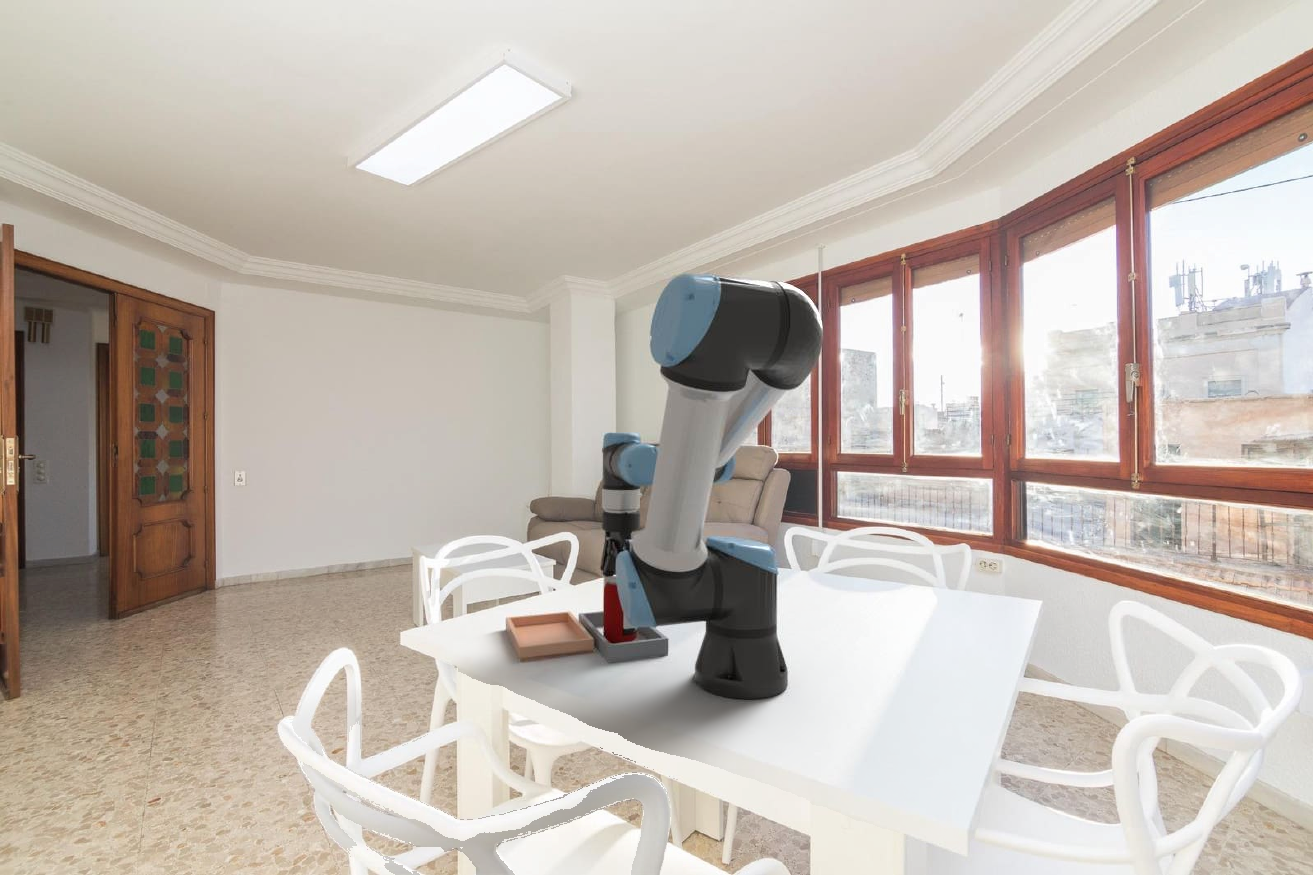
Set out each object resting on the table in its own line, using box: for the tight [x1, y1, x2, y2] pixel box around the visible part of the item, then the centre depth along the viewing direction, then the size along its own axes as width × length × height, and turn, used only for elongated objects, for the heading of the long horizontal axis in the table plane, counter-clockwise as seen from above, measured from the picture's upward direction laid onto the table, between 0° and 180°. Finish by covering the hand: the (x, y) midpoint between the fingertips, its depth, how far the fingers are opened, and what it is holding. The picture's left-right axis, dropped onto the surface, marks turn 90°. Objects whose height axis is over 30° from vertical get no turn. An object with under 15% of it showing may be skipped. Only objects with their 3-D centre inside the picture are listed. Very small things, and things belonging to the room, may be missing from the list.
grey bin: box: [578, 610, 669, 664], centre depth 119 cm, size 22×12×3 cm, turn 21°
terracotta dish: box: [505, 611, 595, 662], centre depth 119 cm, size 20×14×2 cm
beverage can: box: [602, 577, 638, 644], centre depth 119 cm, size 7×7×12 cm
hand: (619, 617), depth 119 cm, fingers open, 13 cm apart
